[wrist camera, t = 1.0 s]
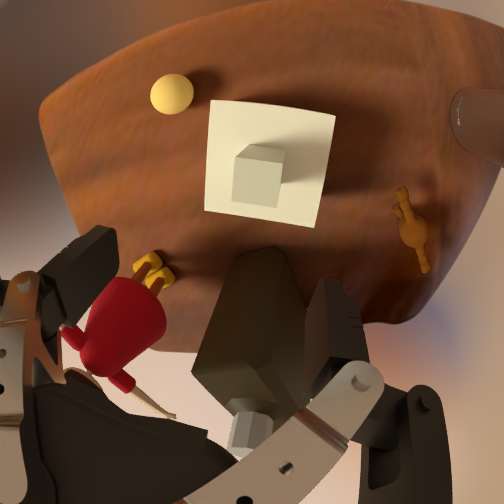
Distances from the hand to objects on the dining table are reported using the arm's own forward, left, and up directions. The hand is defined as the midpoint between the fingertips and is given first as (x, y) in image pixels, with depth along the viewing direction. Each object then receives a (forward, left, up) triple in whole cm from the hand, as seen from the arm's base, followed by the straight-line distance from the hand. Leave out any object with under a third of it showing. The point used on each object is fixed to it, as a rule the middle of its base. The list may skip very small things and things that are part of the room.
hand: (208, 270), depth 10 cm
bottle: (-3, +21, -25) cm, 33 cm away
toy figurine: (-18, +5, -25) cm, 31 cm away
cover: (0, 0, -25) cm, 25 cm away
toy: (+15, +20, -25) cm, 35 cm away
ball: (+12, -6, -22) cm, 26 cm away
